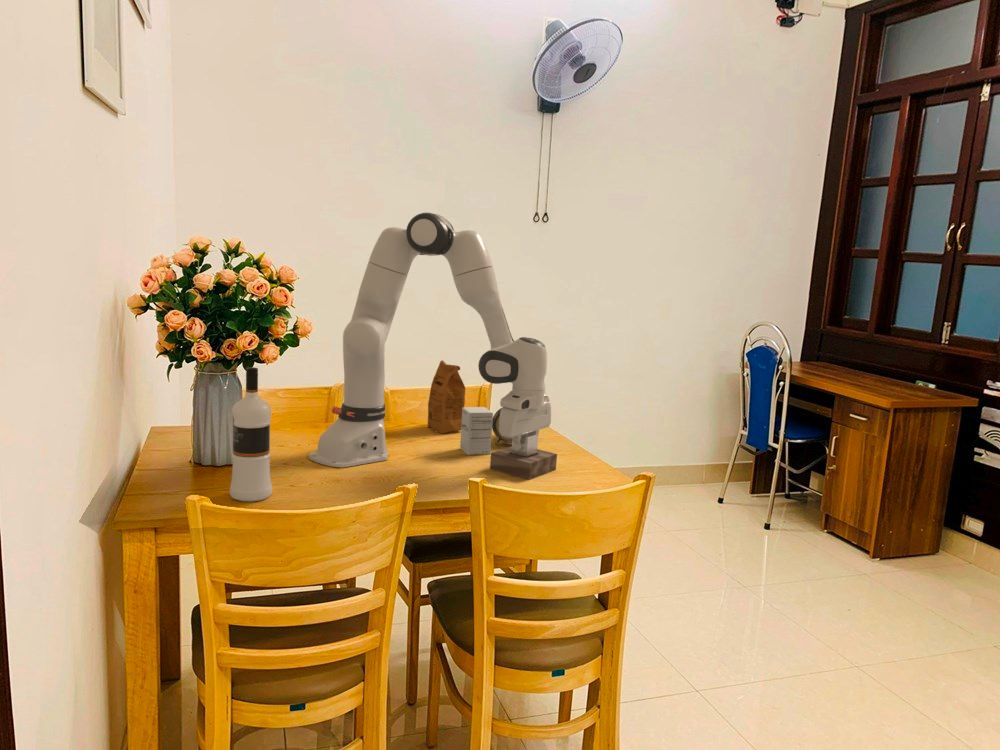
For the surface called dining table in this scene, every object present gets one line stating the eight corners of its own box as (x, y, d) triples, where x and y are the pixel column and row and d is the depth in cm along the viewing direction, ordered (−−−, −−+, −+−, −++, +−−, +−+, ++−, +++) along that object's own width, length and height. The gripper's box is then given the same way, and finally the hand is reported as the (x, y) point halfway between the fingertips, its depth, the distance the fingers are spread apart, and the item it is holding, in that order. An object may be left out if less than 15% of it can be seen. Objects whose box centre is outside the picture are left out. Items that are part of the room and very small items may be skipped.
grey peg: (525, 473, 205) (527, 437, 203) (510, 469, 208) (512, 433, 206) (535, 469, 209) (538, 434, 207) (520, 465, 212) (523, 430, 210)
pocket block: (529, 479, 199) (530, 463, 198) (490, 468, 207) (490, 452, 206) (555, 469, 210) (557, 453, 209) (517, 459, 217) (518, 444, 216)
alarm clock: (492, 446, 229) (496, 394, 226) (489, 442, 234) (492, 390, 232) (527, 446, 232) (531, 394, 229) (523, 442, 237) (527, 391, 234)
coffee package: (450, 423, 254) (453, 359, 251) (466, 432, 244) (470, 365, 240) (422, 425, 249) (425, 359, 246) (438, 435, 239) (442, 366, 235)
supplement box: (459, 448, 225) (461, 406, 223) (483, 447, 228) (485, 406, 225) (466, 455, 218) (469, 412, 216) (491, 454, 221) (493, 412, 219)
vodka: (266, 503, 170) (268, 372, 165) (224, 502, 169) (224, 370, 164) (276, 490, 179) (277, 365, 174) (236, 488, 179) (236, 363, 173)
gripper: (539, 391, 215) (536, 438, 217) (496, 400, 199) (493, 452, 201) (558, 395, 211) (554, 443, 214) (515, 405, 195) (512, 457, 197)
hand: (524, 447), depth 207 cm, fingers closed on grey peg, 5 cm apart
